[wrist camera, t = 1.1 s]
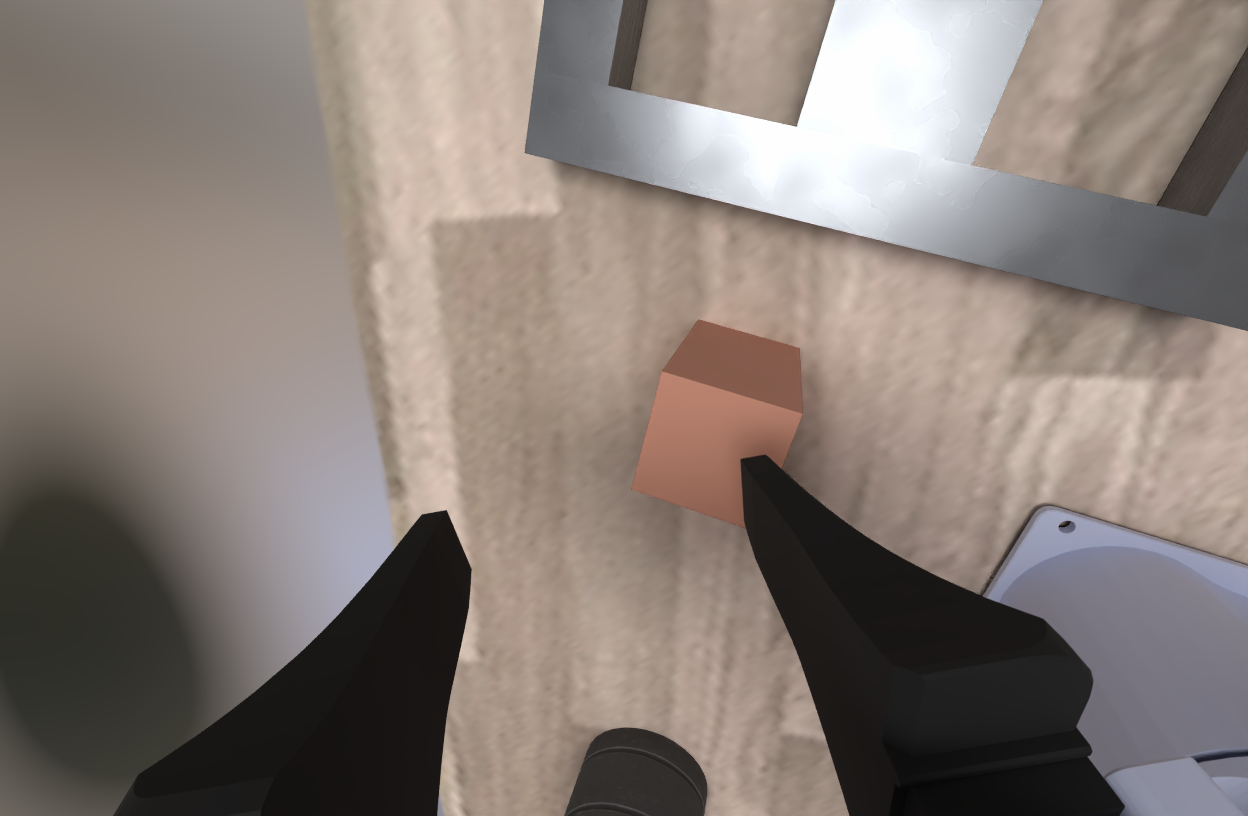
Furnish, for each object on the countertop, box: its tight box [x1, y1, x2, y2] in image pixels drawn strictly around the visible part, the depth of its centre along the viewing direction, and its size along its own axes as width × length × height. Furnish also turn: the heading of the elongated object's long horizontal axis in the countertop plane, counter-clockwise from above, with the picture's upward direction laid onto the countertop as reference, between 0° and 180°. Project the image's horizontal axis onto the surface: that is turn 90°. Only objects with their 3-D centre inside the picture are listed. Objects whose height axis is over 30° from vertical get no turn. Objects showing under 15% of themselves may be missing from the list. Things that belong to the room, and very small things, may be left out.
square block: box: [631, 320, 803, 528], centre depth 20 cm, size 4×4×7 cm
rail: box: [525, 0, 1248, 331], centre depth 16 cm, size 22×11×2 cm, turn 78°
